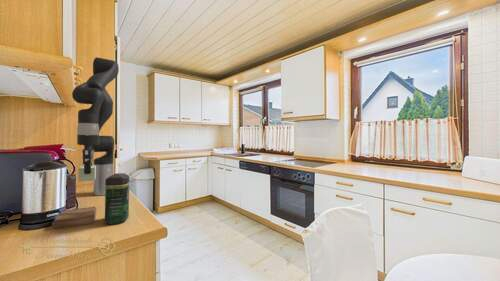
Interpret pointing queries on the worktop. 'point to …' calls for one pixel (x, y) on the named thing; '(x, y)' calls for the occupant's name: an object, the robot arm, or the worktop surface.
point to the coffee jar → (116, 198)
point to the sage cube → (86, 176)
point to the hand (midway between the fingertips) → (88, 172)
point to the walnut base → (75, 217)
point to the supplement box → (71, 191)
